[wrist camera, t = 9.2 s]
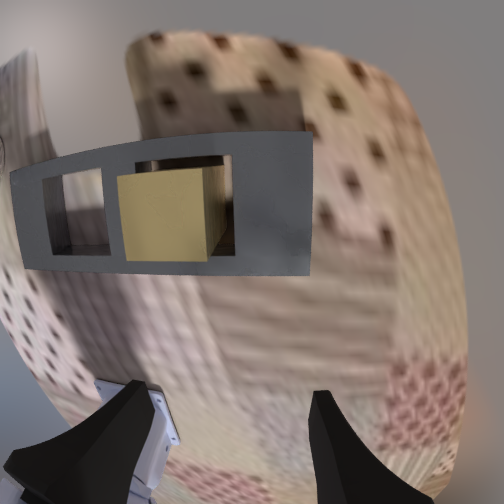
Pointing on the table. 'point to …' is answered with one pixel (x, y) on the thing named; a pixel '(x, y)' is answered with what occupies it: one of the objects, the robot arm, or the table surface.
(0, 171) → the beer glass
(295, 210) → the rail
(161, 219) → the block
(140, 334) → the table surface
